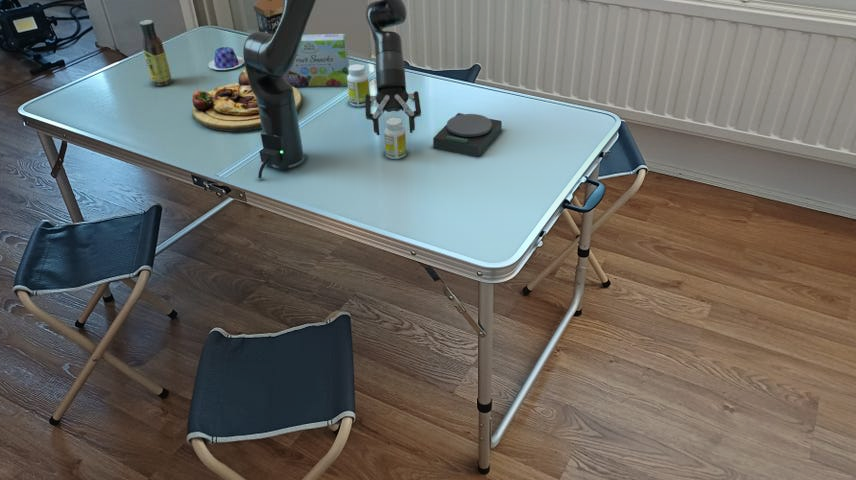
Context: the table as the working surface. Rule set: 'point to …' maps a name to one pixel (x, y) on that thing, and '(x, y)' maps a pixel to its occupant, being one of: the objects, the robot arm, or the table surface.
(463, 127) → the kitchen scale
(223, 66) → the pudding
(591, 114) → the table surface
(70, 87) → the table surface
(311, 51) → the snack box
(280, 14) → the whiskey bottle
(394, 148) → the supplement bottle
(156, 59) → the sauce bottle
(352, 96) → the pill bottle
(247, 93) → the wooden plate
